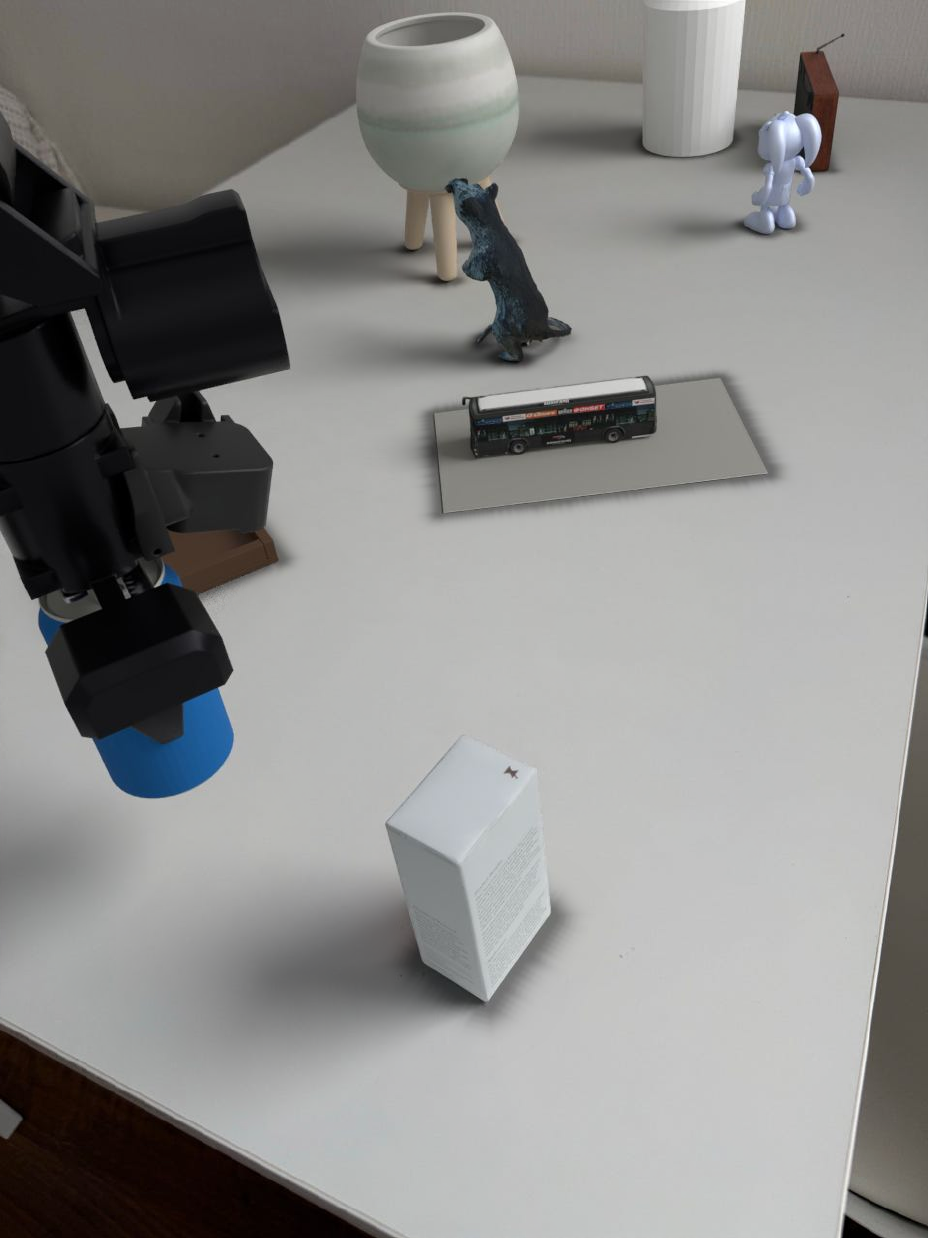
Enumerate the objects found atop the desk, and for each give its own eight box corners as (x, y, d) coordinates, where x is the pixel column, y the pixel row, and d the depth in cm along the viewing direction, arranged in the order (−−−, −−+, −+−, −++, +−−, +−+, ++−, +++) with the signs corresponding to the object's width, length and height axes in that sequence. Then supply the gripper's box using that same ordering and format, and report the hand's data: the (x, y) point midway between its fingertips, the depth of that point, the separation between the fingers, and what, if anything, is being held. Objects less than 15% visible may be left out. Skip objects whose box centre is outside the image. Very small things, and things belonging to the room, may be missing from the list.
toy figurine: (785, 209, 114) (798, 92, 106) (818, 229, 110) (834, 109, 102) (729, 222, 113) (738, 105, 105) (759, 244, 109) (771, 123, 100)
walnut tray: (101, 634, 73) (92, 613, 72) (63, 550, 81) (54, 530, 80) (279, 560, 77) (273, 539, 76) (226, 487, 85) (220, 467, 84)
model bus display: (434, 413, 90) (428, 370, 87) (719, 378, 90) (723, 333, 87) (443, 513, 80) (437, 467, 77) (767, 473, 79) (773, 425, 76)
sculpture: (493, 313, 103) (480, 157, 93) (587, 335, 98) (584, 173, 88) (444, 351, 98) (424, 191, 88) (540, 376, 93) (531, 210, 83)
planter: (446, 304, 105) (418, 63, 90) (352, 263, 115) (312, 39, 100) (558, 249, 112) (549, 17, 97) (461, 215, 122) (439, -1, 107)
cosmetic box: (485, 876, 56) (464, 728, 47) (553, 914, 53) (542, 767, 45) (416, 964, 52) (380, 822, 44) (485, 1008, 50) (461, 867, 42)
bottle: (631, 131, 137) (633, -95, 120) (719, 119, 137) (734, -109, 120) (652, 162, 128) (659, -77, 111) (747, 149, 128) (768, -92, 111)
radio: (789, 124, 133) (803, -9, 123) (813, 122, 133) (830, -11, 123) (803, 178, 120) (820, 34, 110) (830, 177, 119) (850, 32, 109)
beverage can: (195, 698, 57) (128, 520, 50) (261, 755, 54) (200, 572, 46) (91, 764, 54) (3, 586, 47) (153, 830, 51) (68, 647, 43)
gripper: (313, 459, 37) (379, 745, 47) (160, 281, 49) (239, 538, 60) (-4, 579, 33) (144, 858, 44) (-81, 355, 46) (48, 614, 56)
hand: (151, 694), depth 51 cm, fingers closed on beverage can, 6 cm apart
